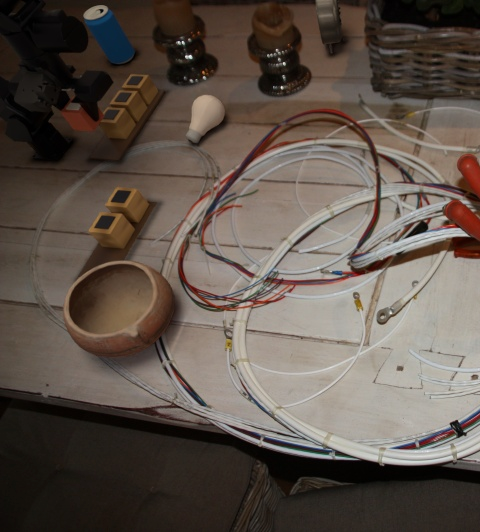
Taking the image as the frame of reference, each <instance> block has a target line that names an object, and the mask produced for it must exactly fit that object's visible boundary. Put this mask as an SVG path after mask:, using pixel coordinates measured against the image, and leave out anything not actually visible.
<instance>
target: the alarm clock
mask: <svg viewBox="0 0 480 532" xmlns="http://www.w3.org/2000/svg"><path fill="white" fill-rule="evenodd" d="M314 2H315V11H316V17H317V18H316V19H317V23H318V24H317V25H318V30H319V34H320V39H321V43H322V44H323V45H328V47H329V51H330V55H333V54H334V51H333V44H337V43H340V42H341V41H343V42H346V40H345V38H344V37H343V31H342V25H343V23H342V18H341V13H342V11H340V10H341V6H339V2H340V1H339V0H314Z"/></svg>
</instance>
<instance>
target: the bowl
mask: <svg viewBox="0 0 480 532" xmlns="http://www.w3.org/2000/svg"><path fill="white" fill-rule="evenodd" d="M174 312H175V295H174V291H173V288H172V286H171V284H170V282H169V281H168V280H167V279H166V277H164V276H163V274H161V273H160V272H159V271H157V270H156V269H154V268H152V267H151V266H149V265H147V264H145V263H141V262H139V261H134V260H125V259H124V261H112V262H108V263H105V264H101V265H99V266H97V267H94V268H93V269H91V270H89V271H88V272H86V273H85V274H83V275H82V276H81V277H78V279H77V280H75V282H74V283H73V284H72V285H71V286H70V287H69V289H68V291H67V292H66V295H65V298H64V302H63V307H62V317H63V321H64V325H65V328H66V331H67V333H68V335H69V336H70V337H71V339H72V340H73V342H74V343H75V344H76V345H77V346H78V347H79V348H81V349H82V350H83V351H85V352H87V353H89V354H91V355H94V356H96V357H101V358H102V357H103V358H123V357H127V356H131V355H135V354H137V353H140V352H142V351H144V350H146V349H148V348H149V347H151V345H153V344H154V343H156V342H157V341H158V340H159V338H161V336H162V335H163V334H164V333H165V331H166V330H167V328H168V326H169V325H170V323H171V321H172V318H173V315H174Z"/></svg>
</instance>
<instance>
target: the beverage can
mask: <svg viewBox="0 0 480 532" xmlns="http://www.w3.org/2000/svg"><path fill="white" fill-rule="evenodd" d="M83 18H84V22H85V25H86V27H87V28H88V30H89V32H90V33H91V34H92V36H93V38H94V40H95V41H96V42H97V44H98V45H99V47H100V48H101V50H102V52H103V53H104V55H105V57H106V58H107V60H108V61H109V62H110V63H111V64H116V65H123V64H126V63H128V62H130V61H131V60H132V59H133V58H134V55H135V53H136V51H135V49H134V47H133V45H132V43H131V41H130V40H129V38H128V36H127V35H126V33H125V31H124V29H123V28H122V26H121V24H120V23H119V21H118V19H117V18H116V16H115V14H114V12H113V11H112V10H111V9H110V8H109V7H108V6H106V5H103V4H101V5H95V6H92V7H90V8H88V9H87V10H86V11H84V12H83Z"/></svg>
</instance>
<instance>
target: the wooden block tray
mask: <svg viewBox="0 0 480 532" xmlns="http://www.w3.org/2000/svg"><path fill="white" fill-rule="evenodd" d="M157 204H158V202H157V201H148V200H147V199H146V198H145V197H144V196H143V194H142V193H141V191H140V190H139V189H138V188H133V187H132V188H131V187H121V186H116V187H115V189H114V190H113V192H112V194H111V195H110V196H109V198H108V200H107V201H106V203H105V204H104V206H105V207H106V209H107V210H108V211H109V212H106V211H100V212H99V214H98V215H97V217H96V219H94V222H93V223H92V225H91V226H90V228H89V229H88V233H89V234H90V235H91V236H92V237H93V238H94V239H95V241H97V242H98V243H97V244H96V246H95V248H94V250H93V251H92V253H91V254H90V255H89V258H88V259H87V261H86V262H85V264H84V265H83V267H82V269H81V271H80V272H79V274H78V276H77V277H78V278H80V277H81V276H82V275H83V274H85V273H86V272H88V271H89V270H91V269H93V268H94V267H97V266H99V265H101V264H105V263H108V262H112V261H124V260H125V259H126V258H127V256H128V254H129V252H130V251H131V249H132V247H133V246H134V244H135V242H136V240H137V238H138V237H139V235H140V233H141V232H142V230H143V228H144V227H145V225H146V223H147V221H148V220H149V218H150V216H151V214H152V212H153V211H154V209H155V207H156V205H157Z"/></svg>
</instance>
